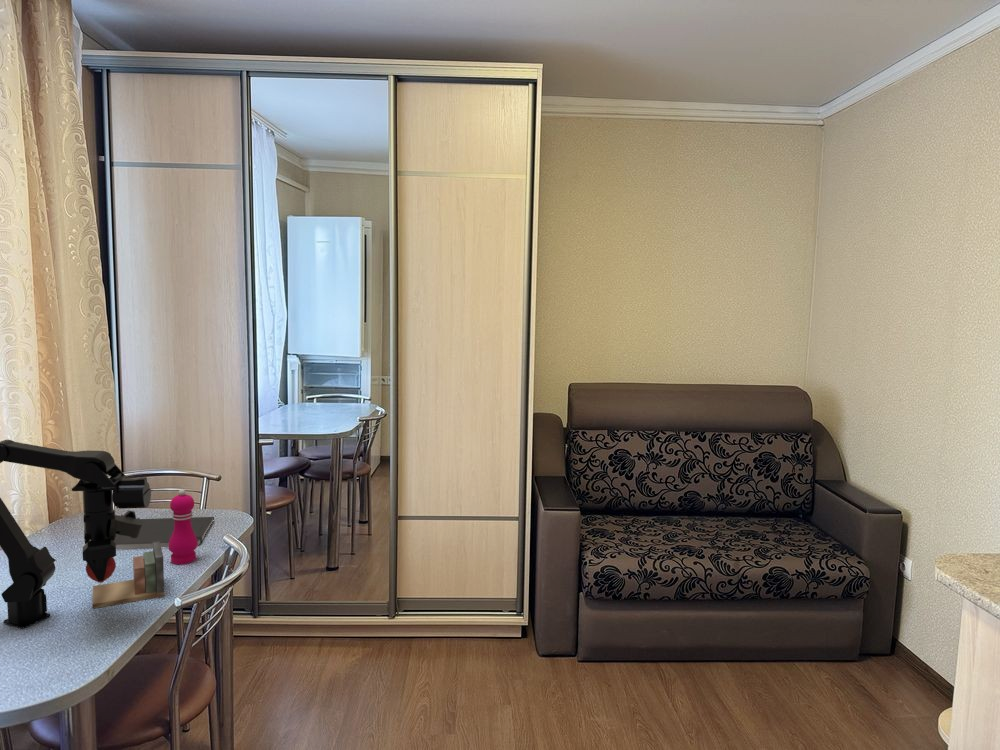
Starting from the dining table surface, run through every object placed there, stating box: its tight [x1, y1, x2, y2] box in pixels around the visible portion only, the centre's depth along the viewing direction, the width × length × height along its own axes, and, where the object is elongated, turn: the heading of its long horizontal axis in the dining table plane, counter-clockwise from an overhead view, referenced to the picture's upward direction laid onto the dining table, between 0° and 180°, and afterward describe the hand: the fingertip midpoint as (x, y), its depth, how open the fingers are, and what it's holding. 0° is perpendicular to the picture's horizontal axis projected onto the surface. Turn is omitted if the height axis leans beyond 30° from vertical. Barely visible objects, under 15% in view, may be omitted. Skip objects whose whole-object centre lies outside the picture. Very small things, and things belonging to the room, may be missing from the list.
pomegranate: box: [85, 557, 117, 584], centre depth 155 cm, size 6×6×8 cm
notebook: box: [114, 516, 215, 550], centre depth 207 cm, size 22×2×28 cm
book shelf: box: [92, 542, 165, 609], centre depth 168 cm, size 15×11×10 cm
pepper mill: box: [168, 488, 198, 565], centre depth 188 cm, size 7×7×20 cm
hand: (101, 575), depth 156 cm, fingers closed on pomegranate, 6 cm apart
